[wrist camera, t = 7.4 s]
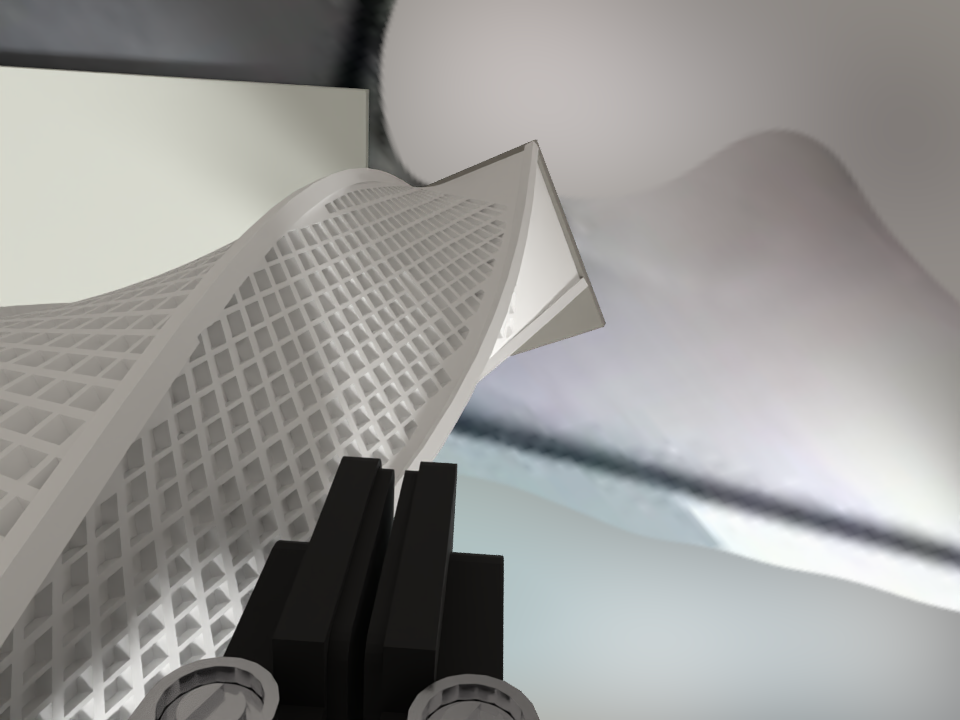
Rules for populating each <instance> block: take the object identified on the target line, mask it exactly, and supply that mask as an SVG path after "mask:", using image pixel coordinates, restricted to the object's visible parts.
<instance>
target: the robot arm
mask: <svg viewBox="0 0 960 720" xmlns="http://www.w3.org/2000/svg"><path fill="white" fill-rule="evenodd" d="M456 481H457V464H452V463H437V462H423V461H421V462H420V466H419V471H412V470H405V473H404V477H403V482H402V486H401V490H400V495H399V499H398V503H397V507H396V512H395V516H394V488H395V471H394V469H384V468H382V463H381V459H380V458H366V457H351V456H343V457H342V459H341V462H340V464H339V467H338V469H337V472H336V475H335V477H334V480H333V482H332V485H331V487H330V490H329V493H328V495H327V498H326V500H325V503H324V506H323V508H322V511H321V513H320V516H319V519H318V521H317V524H316V526H315V529H314V531H313V534H312V537H311V539H310V542H301V541H287V540H279V541H277V542H276V543H275V544H274V546H273V548H272V550H271V552H270V554H269V556H268V559H267V561H266V563H265V565H264V568H263V570H262V572H261V574H260V576H259V579H258V581H257V583H256V585H255V587H254V590H253V592H252V594H251V596H250V598H249V601H248V603H247V605H246V607H245V609H244V612H243V614H242V616H241V618H240V620H239V623H238V625H237V627H236V629H235V631H234V634H233V636H232V638H231V640H230V642H229V645H228V647H227V649H226V651H225V653H224V656H223V657H215V658H208V659H201V660H198V661H195V662H192V663H189V664H187V665H184V666H181V667H179V668H178V669H176V670H174V671H173V672H171V673H169V674H168V675H166V676H164V677H163V678H162V679H161V680H160V681H159V682H158V683H157V684H156V685H155V686H154V687H153V688H152V689H151V690H150V691H149V692H148V693H147V695H146V696H145V697H144V699H143V700H142V701H141V703H140V704H139V705H138V707H137V708H136V709H135V710H134V712H133V713H132V714H131V716H130V717H129V718H128V720H539V717H538V715H537V713H536V710H535V708H534V706H533V704H532V703H531V702H530V701H529V699H528V698H527V697H526V696H525V695H524V694H523V693H522V692H521V691H520V690H518V689H517V688H515V687H513V686H512V685H510V684H508V683H507V682H505V681H503V595H504V592H503V591H504V588H503V587H504V586H503V585H504V558H503V556H500V555H486V554H471V553H457V552H452V549H453V532H454V514H455V498H456Z"/></svg>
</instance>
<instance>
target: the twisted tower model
mask: <svg viewBox="0 0 960 720" xmlns="http://www.w3.org/2000/svg"><path fill="white" fill-rule="evenodd" d="M605 324H606V323H605V320H604V318H603V315H602V312H601V310H600V307H599V304H598V302H597V299H596V296H595V294H594V291H593V288H592V286H591V283H590V280H589V278H588V275H587V272H586V270H585V267H584V264H583V262H582V259H581V256H580V254H579V251H578V248H577V246H576V243H575V240H574V238H573V235H572V232H571V230H570V227H569V225H568V222H567V219H566V217H565V214H564V211H563V209H562V206H561V203H560V201H559V198H558V195H557V193H556V190H555V187H554V185H553V182H552V180H551V177H550V174H549V172H548V169H547V166H546V163H545V161H544V158H543V155H542V153H541V150H540V148H539V145H538V142H537V140H533V141H531V142H528V143H526V144H524V145H521V146H519V147H517V148H514V149H512V150H510V151H507V152H505V153H503V154H500V155H498V156H496V157H493V158H491V159H489V160H486V161H484V162H482V163H479V164H477V165H474V166H472V167H470V168H467V169H465V170H463V171H460V172H458V173H456V174H453V175H451V176H449V177H446V178H444V179H441V180H439V181H437V182H434V183H432V184H430V185H427V186H425V187H412V186H411V185H409V184H408V183H406V182H405V181H403V180H401V179H399V178H398V177H396V176H394V175H392V174H389V173H386V172H384V171H381V170H377V169H370V168H355V169H347V170H344V171H341V172H337V173H334V174H331V175H328V176H326V177H323V178H321V179H318V180H316V181H314V182H312V183H310V184H308V185H306V186H304V187H302V188H300V189H298V190H296V191H295V192H293V193H292V194H290V195H289V196H288V197H286V198H285V199H283V200H282V201H281V202H279V203H278V204H276V205H275V206H274V207H272V208H271V209H270V210H269V211H268V212H267V213H266V214H264V215H263V216H262V217H261V218H260V219H259V220H258V221H257V222H256V223H255V224H253V225H252V226H251V227H250V228H249V229H248V230H247V231H246V232H245V233H244V234H242V236H241V237H240V238H239V239H237V240H235V241H233V242H231V243H229V244H227V245H225V246H223V247H221V248H219V249H217V250H215V251H213V252H211V253H209V254H207V255H205V256H202V257H200V258H198V259H196V260H194V261H191V262H189V263H187V264H184V265H182V266H180V267H177V268H175V269H172V270H170V271H168V272H165V273H163V274H160V275H158V276H155V277H152V278H150V279H147V280H144V281H141V282H138V283H136V284H133V285H130V286H127V287H124V288H121V289H118V290H115V291H111V292H108V293H105V294H101V295H98V296H94V297H91V298H87V299H84V300H80V301H76V302H72V303H52V304H35V305H17V306H6V307H3V306H2V307H0V720H128V718H129V717H130V716H131V714H132V713H133V712H134V710H135V709H136V708H137V707H138V705H139V704H140V703H141V701H142V700H143V699H144V697H145V696H146V695H147V693H148V692H149V691H150V690H151V689H152V688H153V687H154V686H155V685H156V684H157V683H158V682H159V681H160V680H161V679H162V678H163V677H164V676H166V675H168V674H169V673H171V672H173V671H174V670H176V669H178V668H179V667H181V666H184V665H187V664H189V663H192V662H195V661H198V660H201V659H208V658H215V657H223V656H224V653H225V651H226V649H227V647H228V645H229V642H230V640H231V638H232V636H233V634H234V631H235V629H236V627H237V625H238V623H239V620H240V618H241V616H242V614H243V612H244V609H245V607H246V605H247V603H248V601H249V598H250V596H251V594H252V592H253V590H254V587H255V585H256V583H257V581H258V579H259V576H260V574H261V572H262V570H263V568H264V565H265V563H266V561H267V559H268V556H269V554H270V552H271V550H272V548H273V546H274V544H275V543H276V542H277V541H279V540H287V541H301V542H310V539H311V537H312V534H313V531H314V529H315V526H316V524H317V521H318V519H319V516H320V513H321V511H322V508H323V506H324V503H325V500H326V498H327V495H328V493H329V490H330V487H331V485H332V482H333V480H334V477H335V475H336V472H337V469H338V467H339V464H340V462H341V459H342V457H343V456H351V457H366V458H380V459H381V463H382V468H384V469H394V471H395V488H394V516H395V512H396V507H397V503H398V499H399V495H400V490H401V486H402V482H403V477H404V473H405V470H412V471H419V466H420V462H421V461H423V462H433V460H434V459H435V457H436V456H437V454H438V453H439V451H440V450H441V448H442V447H443V445H444V443H445V442H446V440H447V438H448V436H449V435H450V433H451V431H452V429H453V428H454V426H455V424H456V422H457V421H458V419H459V417H460V415H461V414H462V412H463V410H464V408H465V407H466V405H467V403H468V401H469V400H470V398H471V396H472V393H473V391H474V389H475V387H476V385H477V383H478V382H479V381H480V380H482V379H483V378H484V377H485V376H486V375H488V374H489V373H490V372H491V371H492V370H494V369H495V368H496V367H497V366H498V365H499V364H501V363H502V362H503V361H504V360H505V359H507V358H508V357H509V356H512V355H516V354H519V353H522V352H525V351H528V350H531V349H535V348H538V347H541V346H544V345H547V344H550V343H554V342H557V341H560V340H563V339H566V338H570V337H573V336H576V335H579V334H582V333H585V332H589V331H592V330H595V329H598V328H601V327H604V325H605Z"/></svg>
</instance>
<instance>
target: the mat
mask: <svg viewBox="0 0 960 720" xmlns="http://www.w3.org/2000/svg"><path fill="white" fill-rule="evenodd" d="M368 156H369V89H355V88H340V87H324V86H309V85H293V84H278V83H262V82H247V81H231V80H216V79H200V78H185V77H169V76H154V75H138V74H123V73H107V72H92V71H77V70H61V69H46V68H30V67H15V66H0V307H2V306H3V307H6V306H17V305H35V304H52V303H72V302H76V301H80V300H84V299H87V298H91V297H94V296H98V295H101V294H105V293H108V292H111V291H115V290H118V289H121V288H124V287H127V286H130V285H133V284H136V283H138V282H141V281H144V280H147V279H150V278H152V277H155V276H158V275H160V274H163V273H165V272H168V271H170V270H172V269H175V268H177V267H180V266H182V265H184V264H187V263H189V262H191V261H194V260H196V259H198V258H200V257H202V256H205V255H207V254H209V253H211V252H213V251H215V250H217V249H219V248H221V247H223V246H225V245H227V244H229V243H231V242H233V241H235V240H237V239H239V238H240V237H241V236H242V234H244V233H245V232H246V231H247V230H248V229H249V228H250V227H251V226H252V225H253V224H255V223H256V222H257V221H258V220H259V219H260V218H261V217H262V216H263V215H264V214H266V213H267V212H268V211H269V210H270V209H271V208H272V207H274V206H275V205H276V204H278V203H279V202H281V201H282V200H283V199H285V198H286V197H288V196H289V195H290V194H292V193H293V192H295V191H296V190H298V189H300V188H302V187H304V186H306V185H308V184H310V183H312V182H314V181H316V180H318V179H321V178H323V177H326V176H328V175H331V174H334V173H337V172H341V171H344V170H347V169H355V168H368Z"/></svg>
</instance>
